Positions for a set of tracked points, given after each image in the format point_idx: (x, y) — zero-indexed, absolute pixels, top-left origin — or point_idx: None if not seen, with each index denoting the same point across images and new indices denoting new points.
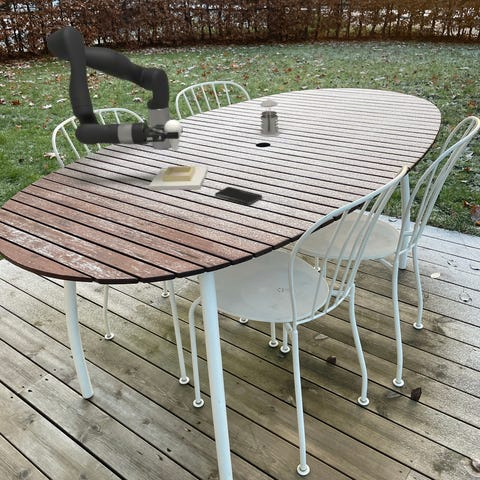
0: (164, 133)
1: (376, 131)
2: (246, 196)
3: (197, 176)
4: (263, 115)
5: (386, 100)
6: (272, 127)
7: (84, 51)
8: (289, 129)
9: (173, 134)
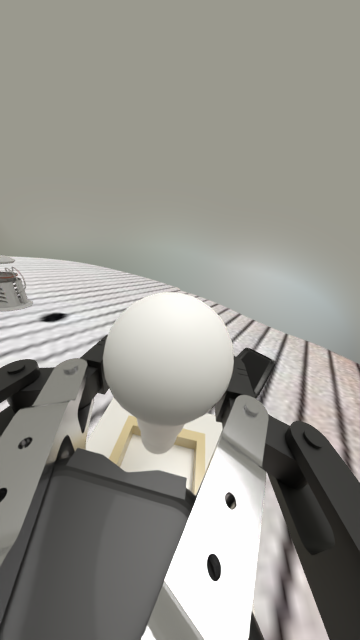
0: (265, 420)
1: (104, 278)
2: (252, 360)
3: None
4: None
5: (38, 261)
6: (23, 293)
7: None
8: None
9: (245, 369)
